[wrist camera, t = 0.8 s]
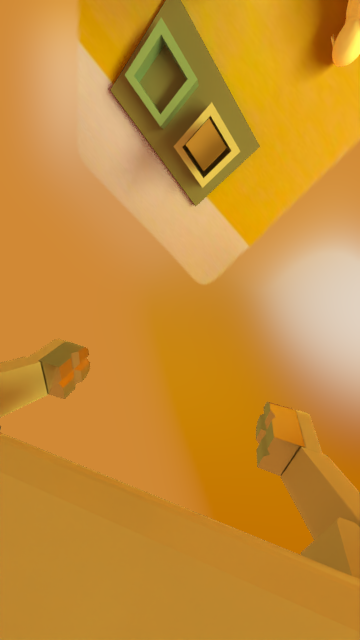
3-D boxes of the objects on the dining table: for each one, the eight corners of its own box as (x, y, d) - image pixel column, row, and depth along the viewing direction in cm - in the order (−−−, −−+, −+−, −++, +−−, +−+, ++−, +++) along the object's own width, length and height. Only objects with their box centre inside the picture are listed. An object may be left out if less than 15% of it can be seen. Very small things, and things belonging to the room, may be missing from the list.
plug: (191, 149, 38) (185, 144, 30) (209, 129, 36) (209, 118, 28) (205, 170, 40) (203, 170, 31) (223, 151, 38) (226, 147, 30)
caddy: (112, 91, 36) (99, 82, 32) (174, -8, 29) (168, -36, 25) (196, 205, 44) (194, 209, 40) (258, 146, 38) (264, 144, 34)
